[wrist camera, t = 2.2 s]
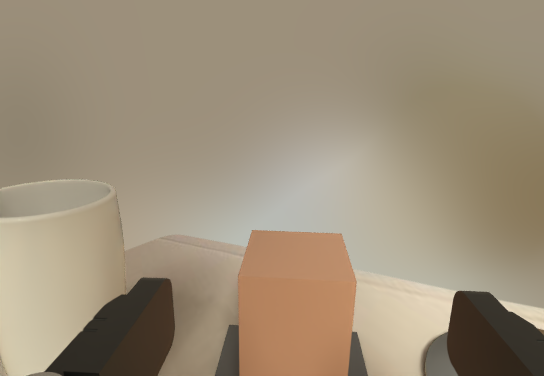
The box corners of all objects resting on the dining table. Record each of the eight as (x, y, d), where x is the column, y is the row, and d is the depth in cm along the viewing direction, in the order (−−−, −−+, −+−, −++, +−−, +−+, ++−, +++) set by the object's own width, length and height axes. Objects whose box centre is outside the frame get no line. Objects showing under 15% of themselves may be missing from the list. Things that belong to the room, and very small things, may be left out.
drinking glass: (11, 419, 22) (-46, 191, 18) (122, 366, 26) (97, 172, 22) (25, 517, 17) (-49, 233, 13) (159, 432, 21) (136, 198, 17)
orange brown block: (239, 417, 22) (238, 276, 19) (252, 345, 28) (252, 230, 25) (343, 425, 21) (356, 281, 19) (332, 350, 27) (341, 233, 25)
